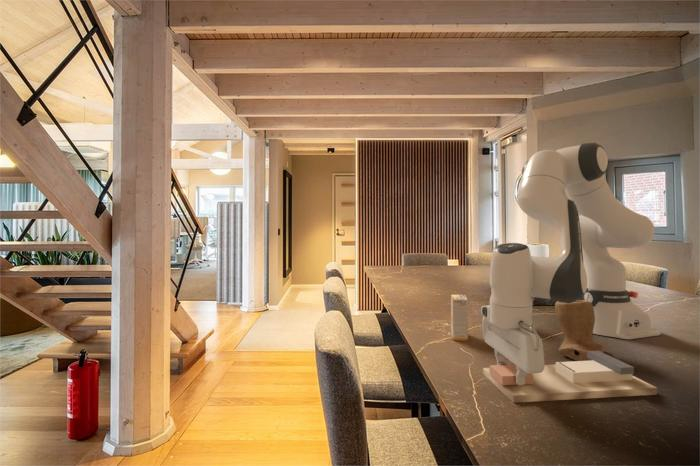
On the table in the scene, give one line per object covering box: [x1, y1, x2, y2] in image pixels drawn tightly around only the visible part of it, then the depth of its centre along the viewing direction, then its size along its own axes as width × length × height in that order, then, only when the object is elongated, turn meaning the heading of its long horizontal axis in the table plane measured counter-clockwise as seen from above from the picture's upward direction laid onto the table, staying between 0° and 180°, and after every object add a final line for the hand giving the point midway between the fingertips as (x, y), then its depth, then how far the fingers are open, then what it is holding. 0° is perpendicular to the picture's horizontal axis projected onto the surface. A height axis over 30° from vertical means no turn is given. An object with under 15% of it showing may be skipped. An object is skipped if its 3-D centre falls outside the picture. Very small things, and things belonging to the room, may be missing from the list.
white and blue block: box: [555, 351, 635, 383], centre depth 83 cm, size 14×10×4 cm
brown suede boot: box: [554, 299, 605, 361], centre depth 101 cm, size 15×12×15 cm
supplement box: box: [450, 294, 469, 342], centre depth 117 cm, size 8×5×13 cm, turn 168°
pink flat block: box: [489, 363, 533, 385], centre depth 82 cm, size 7×6×2 cm
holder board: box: [482, 364, 658, 403], centre depth 83 cm, size 32×14×2 cm, turn 95°
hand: (510, 376), depth 82 cm, fingers open, 6 cm apart
